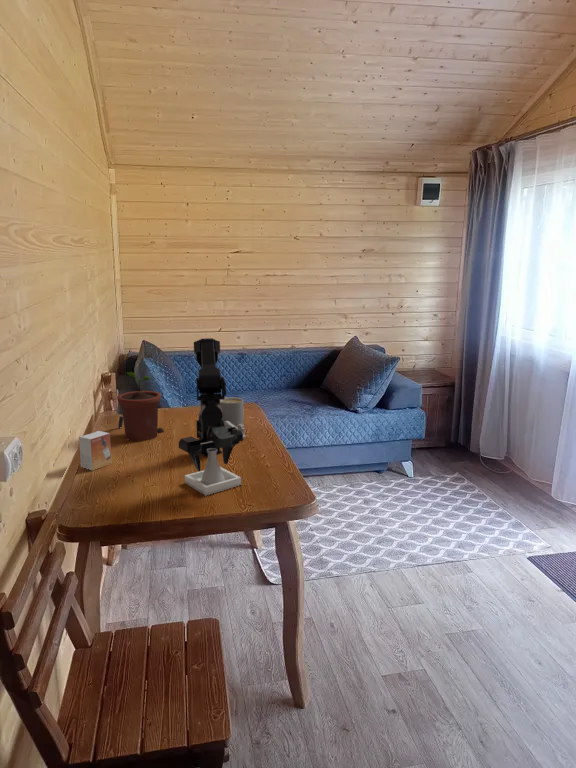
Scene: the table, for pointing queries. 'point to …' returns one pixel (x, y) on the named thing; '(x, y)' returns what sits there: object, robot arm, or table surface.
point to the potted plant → (139, 413)
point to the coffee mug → (232, 410)
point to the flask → (212, 469)
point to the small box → (95, 450)
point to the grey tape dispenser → (240, 427)
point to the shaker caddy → (195, 483)
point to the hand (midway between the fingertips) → (212, 467)
